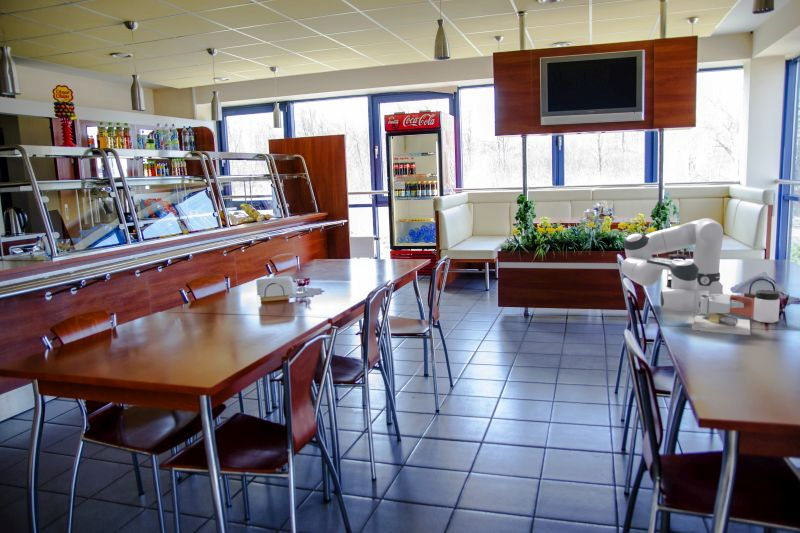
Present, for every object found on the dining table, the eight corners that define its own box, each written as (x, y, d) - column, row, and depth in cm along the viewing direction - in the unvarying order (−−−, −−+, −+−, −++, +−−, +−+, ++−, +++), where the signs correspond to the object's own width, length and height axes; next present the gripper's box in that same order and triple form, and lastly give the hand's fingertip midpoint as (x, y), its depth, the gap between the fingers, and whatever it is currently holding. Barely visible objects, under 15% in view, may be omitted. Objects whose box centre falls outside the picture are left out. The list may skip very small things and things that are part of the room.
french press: (686, 289, 327) (688, 245, 323) (667, 288, 330) (669, 244, 327) (684, 285, 338) (686, 242, 334) (665, 284, 341) (667, 242, 337)
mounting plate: (695, 317, 265) (695, 315, 265) (749, 322, 256) (749, 319, 256) (691, 330, 246) (692, 327, 246) (750, 335, 237) (750, 332, 236)
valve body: (698, 318, 261) (699, 309, 260) (708, 316, 262) (709, 308, 262) (729, 326, 245) (729, 318, 245) (739, 325, 247) (740, 317, 246)
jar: (770, 324, 252) (772, 294, 251) (749, 320, 259) (751, 291, 257) (781, 320, 257) (783, 292, 255) (761, 317, 264) (763, 289, 262)
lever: (711, 312, 254) (712, 292, 253) (718, 311, 256) (719, 291, 255) (748, 320, 240) (749, 299, 239) (755, 318, 242) (756, 298, 240)
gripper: (705, 304, 257) (743, 307, 251) (701, 314, 240) (743, 318, 233) (705, 289, 256) (744, 291, 250) (702, 298, 239) (744, 301, 232)
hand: (743, 304), depth 241 cm, fingers closed
